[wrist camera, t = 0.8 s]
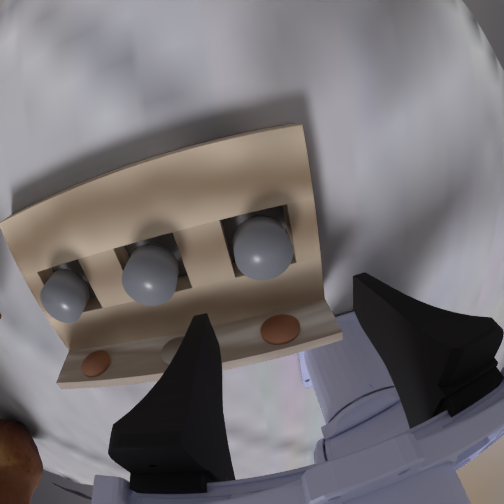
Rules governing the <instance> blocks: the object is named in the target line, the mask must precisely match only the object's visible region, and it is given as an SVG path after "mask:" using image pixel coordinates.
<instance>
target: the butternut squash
mask: <svg viewBox="0 0 504 504" xmlns="http://www.w3.org/2000/svg"><path fill="white" fill-rule="evenodd" d="M42 474H43V464H42V461H41V458H40V455H39V452H38V449H37V446H36V444H35V442H34V440H33V438H32V437H31V435H30V433H29V431H28V430H27V429H26V428H25V427H24V426H23V424H21V423H18V422H14V421H12V420H9V419H0V504H30V501H31V497H32V494H33V492H34V490H35V489H36V487H37V486H38V485H39V482H40V480H41V478H42Z"/></svg>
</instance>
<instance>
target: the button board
mask: <svg viewBox="0 0 504 504" xmlns="http://www.w3.org/2000/svg"><path fill="white" fill-rule="evenodd" d="M281 205H282V207H283V212H284V218H285V224H286V230H287V235H288V237H289V239H290V240H291V242H292V245H293V259H292V261H291V263H290V265H289V267H288V268H287V269H286V270H285V271H284V272H283V273H282V274H281V275H279V276H277V277H275V278H273V279H269V280H254V279H251V278H249V277H247V276H245V275H244V274H243V273H242V272H241V271H240V270H239V269H238V267H237V265H236V263H235V264H233V261H232V258H231V254H230V250H229V247H228V243H227V239H226V236H225V232H224V228H223V224H222V221H221V220H222V219H226V218H230V217H234V216H238V215H242V214H246V213H251V212H255V211H259V210H263V209H268V208H272V207H276V206H281ZM0 228H1V231H2V233H3V235H4V238H5V240H6V242H7V245H8V247H9V249H10V251H11V253H12V255H13V257H14V260H15V262H16V264H17V266H18V268H19V270H20V272H21V274H22V275H23V277H24V279H25V281H26V283H27V285H28V287H29V288H30V290H31V292H32V294H33V296H34V297H35V299H36V301H37V302H38V304H39V306H40V307H41V309H42V311H43V312H44V314H45V316H46V317H47V319H48V320H49V322H50V323H51V325H52V327H53V328H54V330H55V331H56V333H57V334H58V336H59V337H60V338H61V340H62V341H63V343H64V344H65V346H66V347H67V348H68V350H69V353H68V355H67V357H66V360H65V362H64V365H63V367H62V370H61V372H60V375H59V377H58V380H57V382H56V383H57V384H58V385H59V387H60V388H61V389H73V388H92V387H106V386H118V385H128V384H138V383H146V382H154V381H158V380H159V379H160V378H161V376H162V375H163V373H164V372H165V370H166V369H167V367H168V366H169V364H170V362H171V361H172V359H173V357H174V355H175V354H176V352H177V350H178V348H179V346H180V344H181V342H182V340H183V338H184V336H185V334H186V332H187V329H188V327H189V325H190V323H191V320H192V318H193V317H194V316H195V315H200V314H204V313H207V314H208V317H209V320H210V322H211V325H212V327H213V330H214V332H215V335H216V337H217V340H218V342H219V346H220V353H221V360H222V370H227V369H232V368H237V367H241V366H246V365H251V364H255V363H259V362H264V361H268V360H272V359H276V358H280V357H284V356H288V355H292V354H295V353H299V352H303V351H306V350H310V349H314V348H317V347H320V346H324V345H327V344H331V343H334V342H337V341H340V340H343V332H342V330H341V328H340V326H339V324H338V322H337V320H336V318H335V317H334V315H333V313H332V311H331V309H330V307H329V306H328V304H327V302H326V300H325V298H324V286H323V275H322V264H321V254H320V244H319V235H318V227H317V218H316V210H315V203H314V195H313V188H312V181H311V174H310V168H309V161H308V155H307V149H306V143H305V137H304V131H303V126H302V125H300V124H294V123H293V124H287V125H281V126H276V127H270V128H265V129H260V130H255V131H250V132H246V133H241V134H237V135H232V136H228V137H224V138H219V139H215V140H211V141H207V142H203V143H200V144H196V145H192V146H188V147H185V148H181V149H178V150H174V151H171V152H167V153H164V154H161V155H158V156H154V157H151V158H148V159H145V160H142V161H139V162H136V163H133V164H130V165H127V166H124V167H121V168H118V169H116V170H113V171H110V172H107V173H105V174H102V175H99V176H97V177H94V178H92V179H89V180H87V181H84V182H82V183H79V184H77V185H74V186H72V187H69V188H67V189H65V190H62V191H60V192H58V193H56V194H53V195H51V196H49V197H47V198H44V199H42V200H40V201H38V202H36V203H34V204H32V205H30V206H28V207H26V208H24V209H21V210H19V211H18V212H16V213H14V214H12V215H10V216H9V217H7V218H6V219H5V220H3V221H2V222H0ZM172 232H173V235H174V238H175V241H176V244H177V246H178V249H179V252H180V255H181V258H182V261H183V263H184V266H185V269H186V272H187V274H188V275H185V276H181V277H178V279H177V285H176V290H175V293H174V295H173V297H172V298H171V299H170V300H169V301H167V302H166V303H164V304H161V305H157V306H147V305H143V304H140V303H138V302H136V301H135V300H133V299H132V298H131V297H130V296H129V295H128V294H127V293H126V291H125V290H124V287H123V284H122V273H123V271H124V268H125V266H126V264H127V262H128V260H129V255H128V253H127V251H126V248H125V246H124V245H128V244H132V243H135V242H139V241H142V240H146V239H149V238H153V237H157V236H160V235H164V234H168V233H172ZM77 259H78V261H79V263H80V265H81V267H82V269H83V271H84V273H85V275H86V277H87V279H88V281H89V283H90V285H91V287H92V289H93V291H94V293H95V295H96V297H92V298H89V300H88V302H87V304H86V306H85V308H84V310H83V312H82V314H81V316H80V318H79V319H78V320H77V321H76V322H73V323H64V322H60V321H58V320H56V319H55V318H53V317H52V316H51V315H50V314H49V313H48V312H47V311H46V310H45V308H44V307H43V305H42V302H41V298H40V293H41V290H42V288H43V286H44V285H45V284H46V282H47V281H48V280H49V278H50V277H51V276H52V275H53V273H54V272H53V270H52V268H51V267H55V266H58V265H61V264H64V263H67V262H71V261H74V260H77Z"/></svg>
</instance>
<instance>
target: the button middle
mask: <svg viewBox="0 0 504 504" xmlns="http://www.w3.org/2000/svg"><path fill="white" fill-rule="evenodd" d="M178 273H179V265H178V261H177V259H176V257H175V256H174V254H173V253H172V252H171V251H170V250H168V249H167V248H165V247H163V246H161V245H157V244H145V245H142V246H140V247H138V248H137V249H135V250H134V251H133V253H132V254H131V256H130V258H129V260H128V262H127V264H126V266H125V268H124V271H123V273H122V284H123V287H124V290H125V291H126V293H127V294H128V295H129V296H130V297H131V298H132V299H133V300H135V301H136V302H138V303H140V304H143V305H147V306H157V305H161V304H164V303H166V302H167V301H169V300H170V299H171V298H172V297H173V295H174V293H175V290H176V285H177V279H178Z"/></svg>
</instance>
